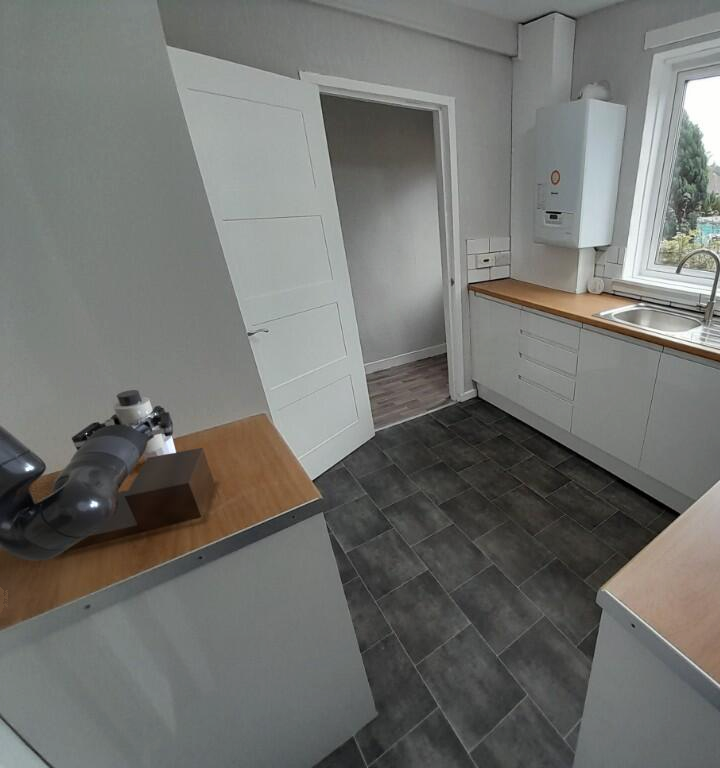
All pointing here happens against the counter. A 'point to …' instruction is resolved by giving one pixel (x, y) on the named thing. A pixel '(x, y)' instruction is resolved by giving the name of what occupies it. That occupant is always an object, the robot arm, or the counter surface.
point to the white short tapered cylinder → (163, 448)
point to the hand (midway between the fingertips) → (141, 412)
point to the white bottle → (136, 414)
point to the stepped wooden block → (158, 497)
